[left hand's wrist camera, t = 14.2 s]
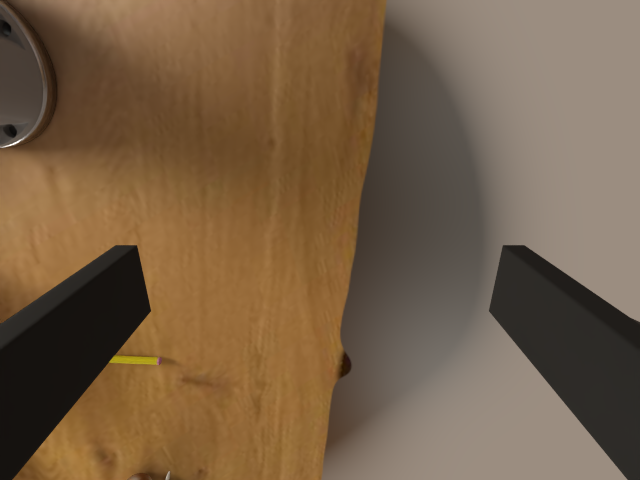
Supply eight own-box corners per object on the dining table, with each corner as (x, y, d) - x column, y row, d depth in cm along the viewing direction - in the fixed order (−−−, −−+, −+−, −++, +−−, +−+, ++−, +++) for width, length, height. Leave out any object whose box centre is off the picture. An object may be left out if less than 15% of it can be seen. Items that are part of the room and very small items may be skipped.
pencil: (161, 355, 48) (158, 360, 48) (162, 361, 49) (159, 366, 48) (43, 350, 48) (38, 355, 47) (45, 356, 48) (39, 361, 48)
